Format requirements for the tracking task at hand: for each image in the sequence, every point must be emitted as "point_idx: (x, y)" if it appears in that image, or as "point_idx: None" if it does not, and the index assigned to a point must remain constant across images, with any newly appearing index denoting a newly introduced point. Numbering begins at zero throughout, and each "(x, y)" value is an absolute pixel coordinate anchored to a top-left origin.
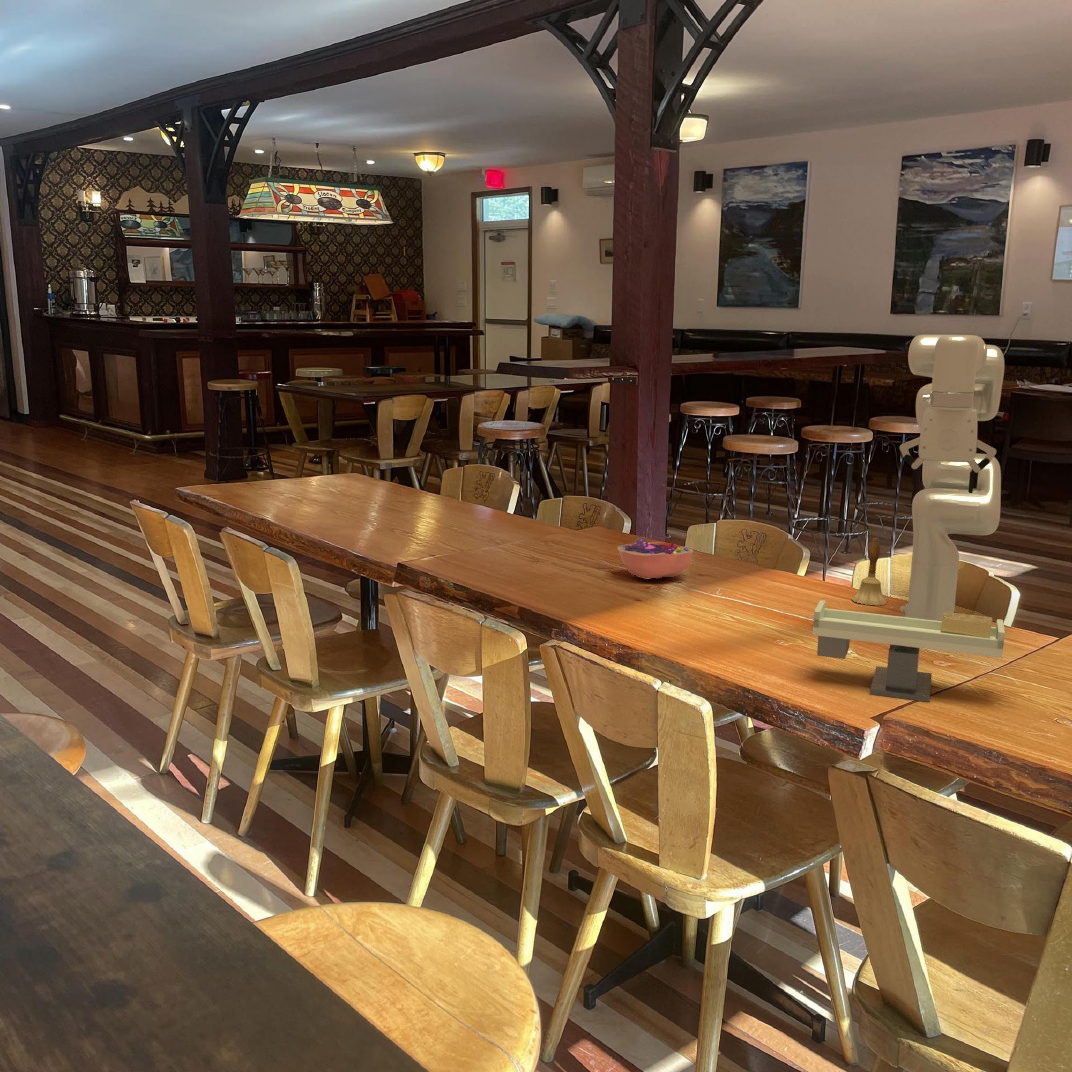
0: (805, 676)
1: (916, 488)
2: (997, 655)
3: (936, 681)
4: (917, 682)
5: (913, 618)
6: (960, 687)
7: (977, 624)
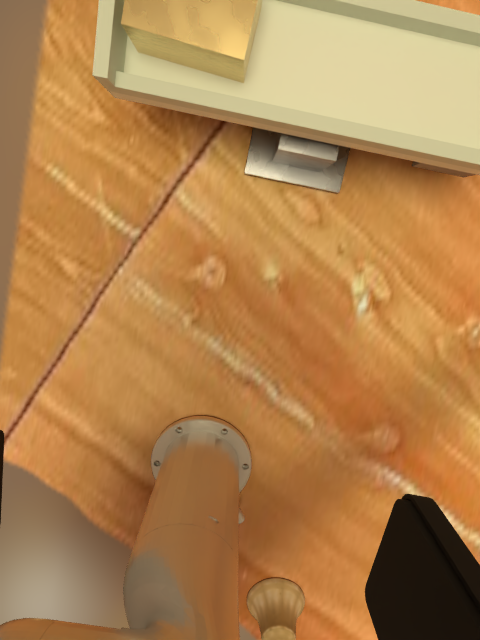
0: None
1: (421, 496)
2: None
3: (238, 159)
4: None
5: (307, 122)
6: (201, 132)
7: None
